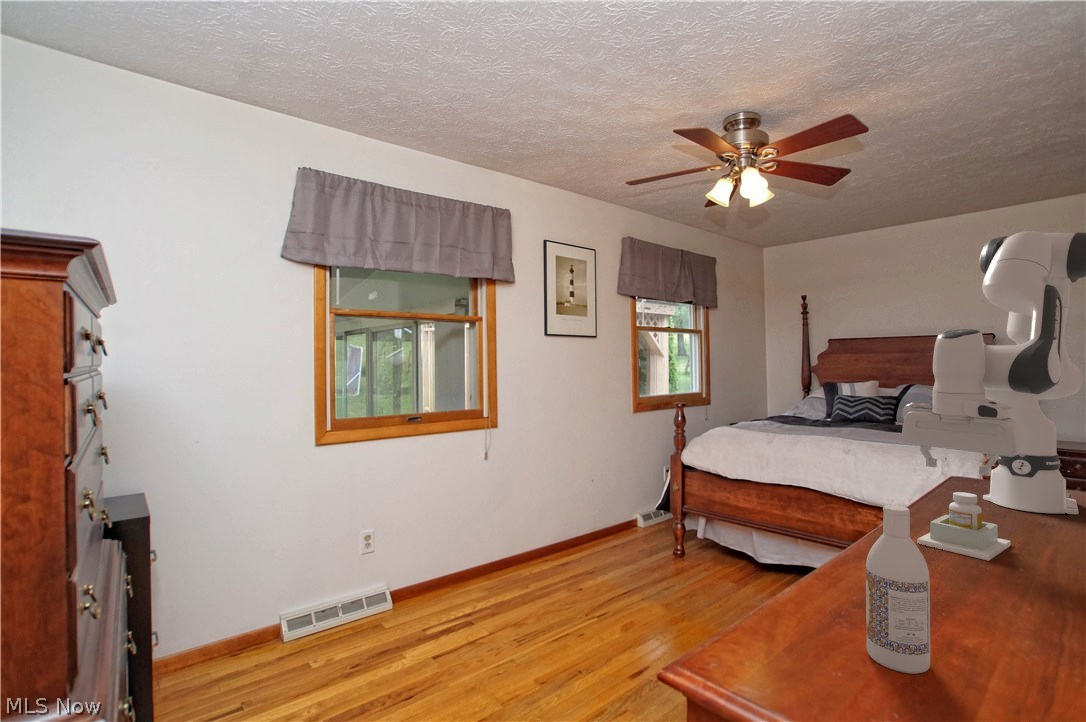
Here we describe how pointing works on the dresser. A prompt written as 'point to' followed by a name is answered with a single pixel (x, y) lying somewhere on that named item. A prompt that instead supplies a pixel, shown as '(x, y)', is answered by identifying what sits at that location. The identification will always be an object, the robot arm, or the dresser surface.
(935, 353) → the robot arm
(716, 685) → the dresser surface
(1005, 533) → the dresser surface
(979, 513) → the supplement bottle
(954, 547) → the caddy
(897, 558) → the bath foam
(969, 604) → the dresser surface
